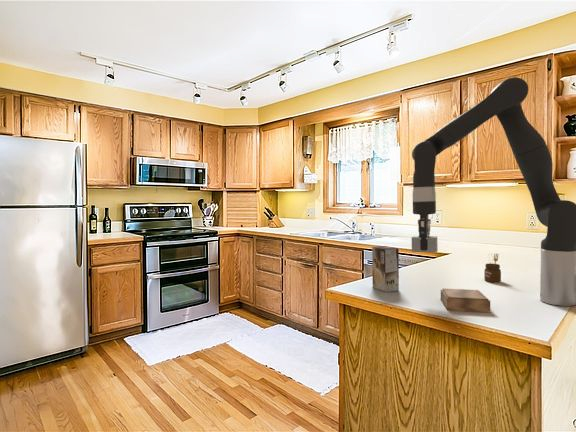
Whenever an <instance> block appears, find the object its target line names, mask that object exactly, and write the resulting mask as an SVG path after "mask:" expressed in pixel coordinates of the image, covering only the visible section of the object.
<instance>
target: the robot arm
mask: <svg viewBox="0 0 576 432" xmlns="http://www.w3.org/2000/svg"><path fill="white" fill-rule="evenodd" d="M528 94H529V84H528V83H527V81H525V79H523V78H520V77H514V76H513V77H509V78H506V79H504V80H502V81H501V82H500V83H498V84H497V85H496V86H495V87H493V89H492V90H491V92H490V93H489V94H488V95H487V96H486V97H485V98H484V99H482V100H481V101H479V103H477V104H476V105H474V106H472V107H471V108H470V109H468V110H466V111H465V112H463V113H462V114H460V115H458V116H457V117H455V118H454V119H452V120H451V121H449V122H448V123H446V124H444V125H443V126H442V127H440V128H439V129H438V130H437V131H436V132H435V133H433V134H432V135H431V136H430V137H428V138H427V139H425V140H422V141H420V142H419V143H416V145H415V146H414V147H413V149H412V151H411V157H412V160H413V162H414V164H413V165H414V172H413V175H412V176H413V177H412V185H413V186H412V187H413V188H412V214H413V215H419V219H418V220H417V225H418V228H417V229H418V230H417V231H418V236H419V238H420V249H421V250H425V251H426V250H427V239H428V234H429V235H431V233H430V232H431V224H432V220H431V218H430V217H429V215H435V214H436V213H437V197H436V196H437V193H436V185H435V184H436V183H435V182H436V180H435V179H436V178H435V177H436V175H435V171H436V170H435V169H436V161H437V160H436V159H437V156H438V155H439V154H441V153H442V152H443V151H445V150H447V149H448V148H450V147H453V146H454V145H455V144H457V143H459V142H460V141H461V140H463V139H464V138H466V137H467V136H468V135H469V134H471V133H472V132H474V131H476V129H478V128H479V127H480V126H481V125H482V124H484V123H486V122H487V121H489V120H491V119H492V118H494V117H495V116H496V117H497V119H498V121H499V123H500V125H501V126H502V128H503V131H504V134H505V136H506V138H507V142H508V144H509V146H510V148H511V152H512V155H513V157H514V159H515V161H516V164H517V166H518V169H519V171H520V173H521V176H522V177H523V180H524V183H525V185H526V187H527V189H528V191H529V194H530V197H531V201H532V204H533V208H534V212H535V215H536V217H537V220H538V221H539V222H540V224H542V225H543V226H545V227H546V228H547V229H546V235H545V238H543V239H542V240H541V242H540V283H539V284H540V287H539V288H540V290H539V300H540V301H541V302H542V303H546V304H550V305H555V306H562V307H571V306H572V307H574V306H576V203H575V202H573V201H571V200H567V199H561V198H560V196H559V194H558V192H557V190H556V188H555V184H554V182H553V181H554V180H553V174H554V173H553V166H554V165H553V164H554V163H553V158H552V154H551V152H550V149H549V147H548V146H547V143H546V140H545V139H544V138H543V136H542V134H540V133H539V131H538V130H537V129H536V128H535V127H534V126H533V125H532V124H531V123H530V122H529V120H528V119H527V117H526V115H525V113H524V110H523V108H522V107H523V106H522V103H523V102H524V101H525V100H526V99H527V97H528Z"/></svg>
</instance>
